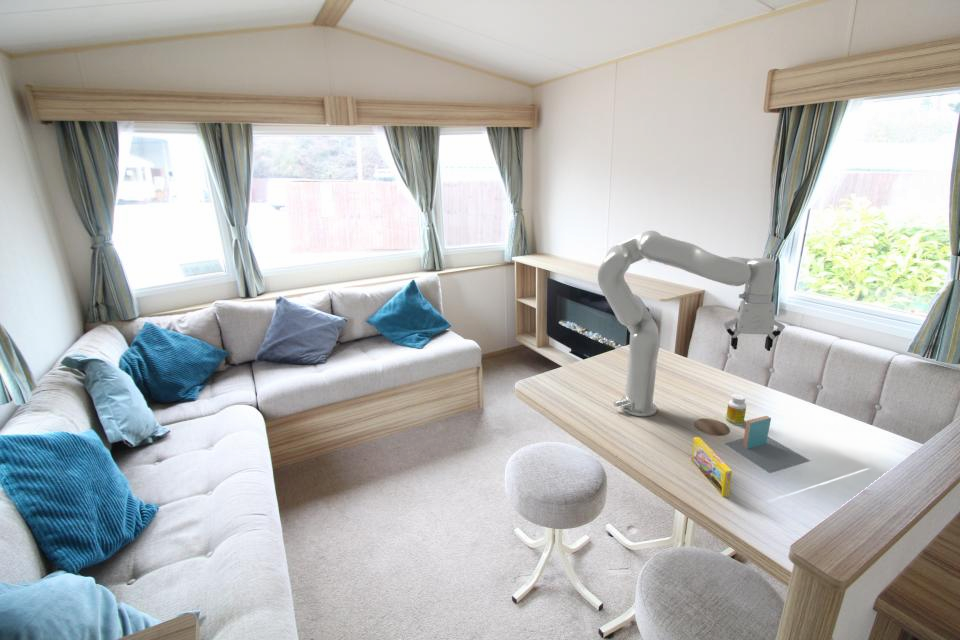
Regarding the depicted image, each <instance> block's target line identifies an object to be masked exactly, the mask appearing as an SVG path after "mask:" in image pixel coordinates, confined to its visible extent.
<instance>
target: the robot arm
mask: <svg viewBox="0 0 960 640" xmlns="http://www.w3.org/2000/svg"><path fill="white" fill-rule="evenodd" d="M643 259H647V260H648V261H652V262H656V263H659V264H663V265H665V266H670V267H673V268H677V269H680V270H682V271H685V272H688V273H691V274H693V275H697V276H698V277H702V278H705V279H707V280H710V281H713V282H716V283H720V284H723V285H727V286H732V287H740V286H743V285H744V291H743V293H740V294H738V299H742V300H741V301H740V303H739V306H738V308H737V309H738V310H737V311H736V317H735V318H734V319H731V320H729V321H725V322H723V326H724V329H725V331H726V332H727V333H728V334H729V335H730V336H731V337H730V346H731V348H732V349H733V350H738V343H739V339H738V338H739V337H738V336H739V335H740V334H743V335H746V334H747V335H767V336H766V337H765V341H764V342H765V343H764V349H765V350H766V351H767V352H770V351H771V349H772V348H773V345H774V344H773V343H774V340H775V339H776V337H777V336H779V335H781V333H782V332H783V330H784V329H785V328H786V326H785V325H784V324H783V323H781V322H779V321H777V320H775V315H776V314H775V303H774V302H772V299H773V298H772V297H773V292H774V283H775V276H776V271H777V262H776V261H775V260H774V259H773V258H772V259H771V258H766V257H765V258H764V257H758V258H756V257H755V258H747V257H746V258H745V257H739V256H730V257H723V256H720V255H716V254H714V253H711V252H709V251H707V250H705V249H703V248H702V247H701V246H699V245H696V244H695V243H694V244H693V243H690V242H686V241H683V240H680V239H676V238H672V237H670V236H665V235H662V234H661V233H660V232H658V231H656V230H646V231H644V232H642V233H639V234H637V235H635V236H633V237H631V238H629V239H626V240H624V241H622V242H620V243H618V244H615V245H614V246H612V247H610V248H609V250H608V251H607V253H606V255H605V257H604V259H603V261H602V262H601V264H600V266H599V268H598V271H597V282H598V286H599V287H600V290H601V291H602V293H603V295H604V297H605V299H606V300H607V301H606V302H607V303H608V305H609V306H610V308H611V309H612V311H613V313H614V315H615V318H616V319H617V321H618V322H619V323H620V324H621V325H622V326H625V327H626V328H627V330H628V332H629V333H630V334H629V346H628V347H629V349H628V357H627V358H628V362H627V370H626V371H627V374H626V382H625V383H626V384H625V386H626V387H625V395H623V396H622V398H621V399H620V400H616V401H613V406H614V407H615V408H616V407H620V409H621V410H622V411H623V412H624V413H627V414H629V415H631V416H636V417H650V416H653V415H655V414H656V413H657V410H658V407H657V405H656V404H655V403H654V402H653V401H654V392H655V384H656V375H657V365H658V358H659V351H660V342H661V341H660V340H661V339H660V334H659V333H660V332H659V329H658V325H657V323H656V322H655V320H654V318H653V317H652V315H651V313H650V311H649V310H648V308H647V306H646V304H645V303H644V301H643V299H642V298H641V297H640V296H638V295H637V294H635V293H633V292H632V290H631V288H630V286H629V284H628V282H627V281H626V280H625V274H626V272H627V271H628V270H629V268H630V266H631V265H633V264H635V263H637V262H639V261H642V260H643ZM733 325H734V329H733V330H732V329H731V326H733ZM774 327H777V328H776V329H775V328H774Z"/></svg>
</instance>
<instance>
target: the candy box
mask: <svg viewBox="0 0 960 640" xmlns="http://www.w3.org/2000/svg"><path fill="white" fill-rule="evenodd" d="M692 440H693V441H692V450H691V462H692V463H693V465H695V467H696V468H697V467H698V468H697V469H698V470H699V471H700V472H701V473H702V474H703V476H704V477H705V478H706V480H708V481H709V483H710V484H711V485H712V487H714V489H715V490H716V491H718V493H719V494H720V495H721V496H722V497H723V498H724V497H727V498H728V497H729V496H730V490H731V489H730V488H731V483H732V482H731V481H732V473H733V470H732V469H731V468H730V467H729V466H728V464H727V463H725V461H723V460H722V459H721V458H720V457H719V456H718V454H717V453H715V452H714V450H713V449H712V448H710V447H709V445H708V444H707V443H706V442H705V441H704V440H703V439H702V438H701V437H700V436H696V437H693V439H692Z"/></svg>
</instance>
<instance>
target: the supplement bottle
mask: <svg viewBox="0 0 960 640" xmlns="http://www.w3.org/2000/svg"><path fill="white" fill-rule="evenodd" d="M746 411H747V403H746V397H745V396H744V395H742V394H739V393H734V394H731V398H730V400H729V401H728V403H727V408H726V414H725V415H726V416H725V421H726V422H727V424H730V425H732V426H742V425H744V422H745V417H746Z"/></svg>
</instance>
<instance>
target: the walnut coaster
mask: <svg viewBox="0 0 960 640" xmlns="http://www.w3.org/2000/svg"><path fill="white" fill-rule="evenodd" d="M693 427H694V428H695V429H696V430H698V431H699V432H701V433H703V434H705V435H709V436H715V437H723V436H726V435H729V434H730V432H731V429H730V427H729V426H728V425H727V424H725V423H724V422H722V421H719V420H717V419H714V418H713V419H712V418H705V417H702V418H698V419H696V420H694V421H693Z"/></svg>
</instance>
